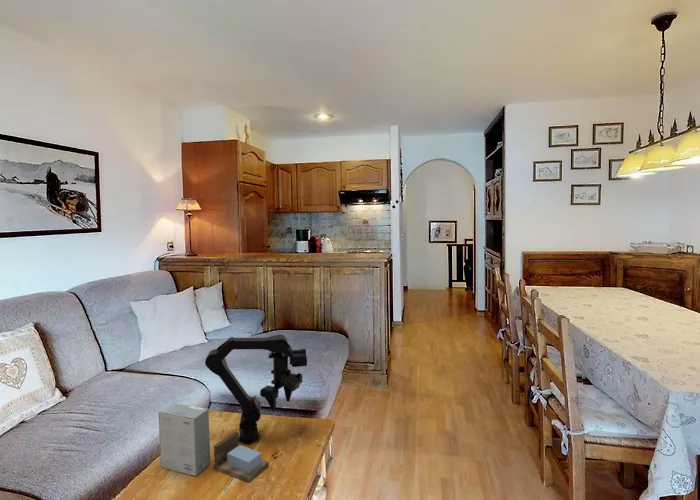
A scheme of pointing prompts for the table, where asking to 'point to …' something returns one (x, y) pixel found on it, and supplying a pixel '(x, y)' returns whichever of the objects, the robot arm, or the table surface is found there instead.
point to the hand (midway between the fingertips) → (281, 406)
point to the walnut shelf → (221, 465)
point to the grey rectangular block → (244, 459)
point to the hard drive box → (184, 438)
